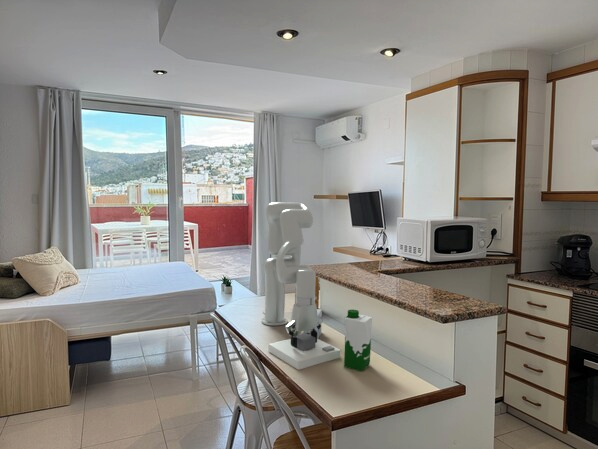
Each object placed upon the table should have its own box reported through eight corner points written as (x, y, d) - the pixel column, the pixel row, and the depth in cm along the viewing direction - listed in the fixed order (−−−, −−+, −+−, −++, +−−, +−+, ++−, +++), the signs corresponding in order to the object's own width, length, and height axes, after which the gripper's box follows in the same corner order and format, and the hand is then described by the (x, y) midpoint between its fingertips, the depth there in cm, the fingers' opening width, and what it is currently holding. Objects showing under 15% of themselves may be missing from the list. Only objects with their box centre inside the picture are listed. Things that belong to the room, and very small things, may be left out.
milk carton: (350, 358, 149) (352, 307, 148) (373, 364, 145) (375, 311, 143) (340, 367, 142) (342, 312, 141) (363, 373, 137) (365, 317, 136)
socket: (268, 351, 155) (268, 341, 155) (308, 341, 167) (308, 332, 166) (298, 369, 139) (298, 359, 138) (340, 357, 151) (340, 347, 150)
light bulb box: (318, 340, 168) (318, 315, 168) (302, 339, 170) (303, 314, 169) (321, 332, 179) (322, 309, 178) (307, 331, 180) (307, 307, 179)
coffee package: (292, 307, 219) (293, 268, 217) (311, 305, 225) (312, 267, 223) (301, 312, 210) (302, 271, 209) (320, 309, 216) (321, 269, 215)
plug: (292, 352, 153) (293, 335, 153) (305, 348, 157) (305, 332, 157) (302, 357, 148) (303, 340, 148) (315, 354, 152) (315, 337, 151)
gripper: (316, 295, 159) (315, 337, 161) (281, 301, 149) (280, 345, 150) (328, 299, 153) (327, 342, 155) (292, 306, 143) (291, 351, 144)
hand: (304, 344), depth 152 cm, fingers open, 9 cm apart
